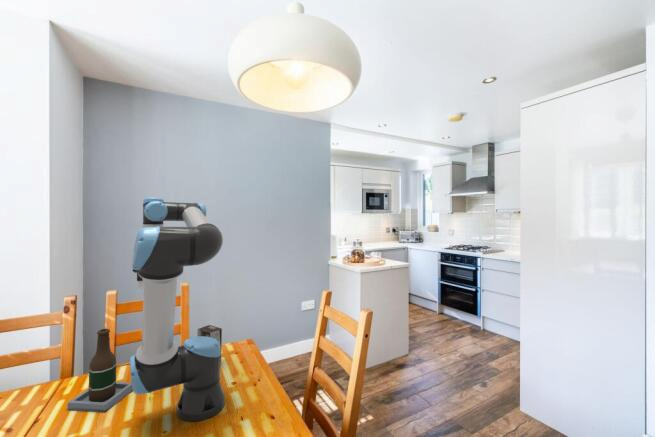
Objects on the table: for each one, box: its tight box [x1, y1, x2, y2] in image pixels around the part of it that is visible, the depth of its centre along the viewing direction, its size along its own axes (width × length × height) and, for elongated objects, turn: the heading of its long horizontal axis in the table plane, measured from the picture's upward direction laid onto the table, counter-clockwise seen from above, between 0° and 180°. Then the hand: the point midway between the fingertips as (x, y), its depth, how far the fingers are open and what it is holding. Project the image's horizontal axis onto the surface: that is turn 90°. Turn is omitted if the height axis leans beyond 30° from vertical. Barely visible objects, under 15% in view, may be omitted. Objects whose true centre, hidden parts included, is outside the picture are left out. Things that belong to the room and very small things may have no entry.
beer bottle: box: [88, 328, 117, 402], centre depth 107 cm, size 8×8×24 cm
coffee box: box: [196, 324, 223, 366], centre depth 133 cm, size 9×6×16 cm
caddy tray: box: [66, 381, 134, 413], centre depth 107 cm, size 13×13×2 cm
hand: (152, 285), depth 125 cm, fingers open, 13 cm apart
